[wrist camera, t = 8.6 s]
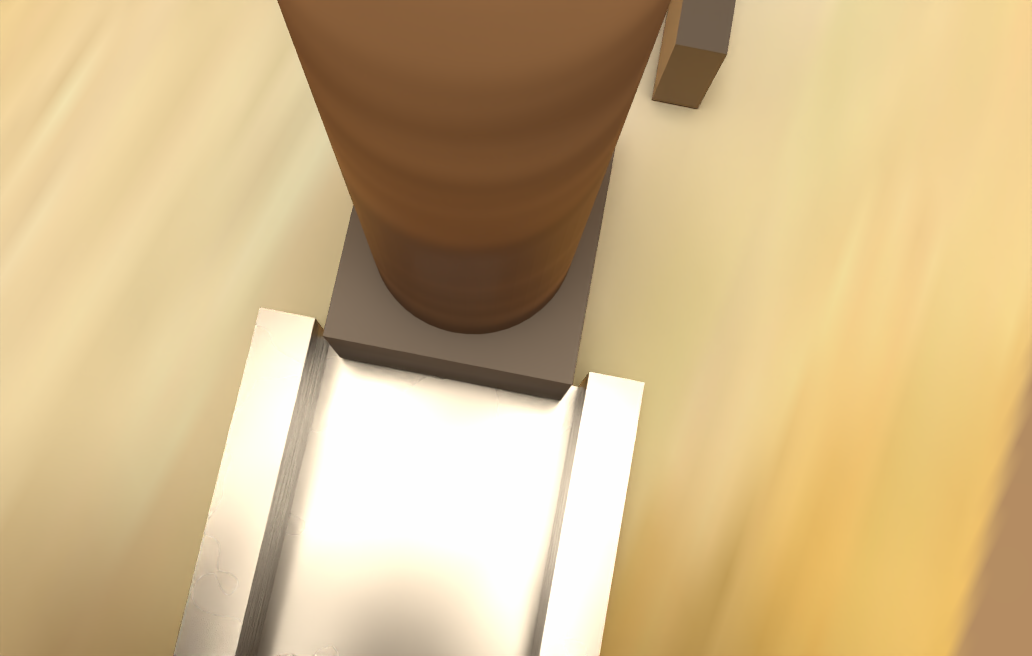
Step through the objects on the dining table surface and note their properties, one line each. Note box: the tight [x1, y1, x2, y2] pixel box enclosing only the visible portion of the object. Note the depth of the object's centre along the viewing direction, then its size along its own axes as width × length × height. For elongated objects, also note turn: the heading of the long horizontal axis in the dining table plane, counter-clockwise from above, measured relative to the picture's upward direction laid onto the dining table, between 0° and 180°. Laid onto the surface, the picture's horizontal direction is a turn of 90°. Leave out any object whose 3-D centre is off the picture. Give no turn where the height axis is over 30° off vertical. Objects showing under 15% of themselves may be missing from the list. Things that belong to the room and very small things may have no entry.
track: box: [173, 307, 645, 656], centre depth 18 cm, size 8×7×2 cm
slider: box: [277, 0, 671, 401], centre depth 13 cm, size 6×4×13 cm
